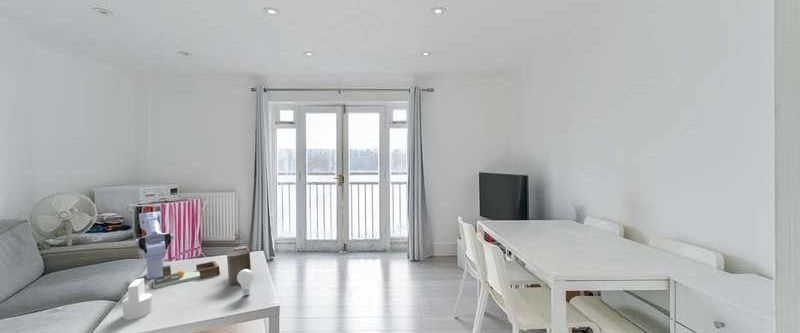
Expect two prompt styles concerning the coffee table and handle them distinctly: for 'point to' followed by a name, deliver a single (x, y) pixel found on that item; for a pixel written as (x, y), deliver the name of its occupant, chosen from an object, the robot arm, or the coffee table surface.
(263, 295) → the coffee table surface
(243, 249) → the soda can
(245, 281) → the lightbulb
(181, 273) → the ball
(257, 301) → the coffee table surface
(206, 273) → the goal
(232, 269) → the pillar candle
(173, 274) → the rail
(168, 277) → the block
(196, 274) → the plate
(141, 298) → the cylinder with rectangular tab
